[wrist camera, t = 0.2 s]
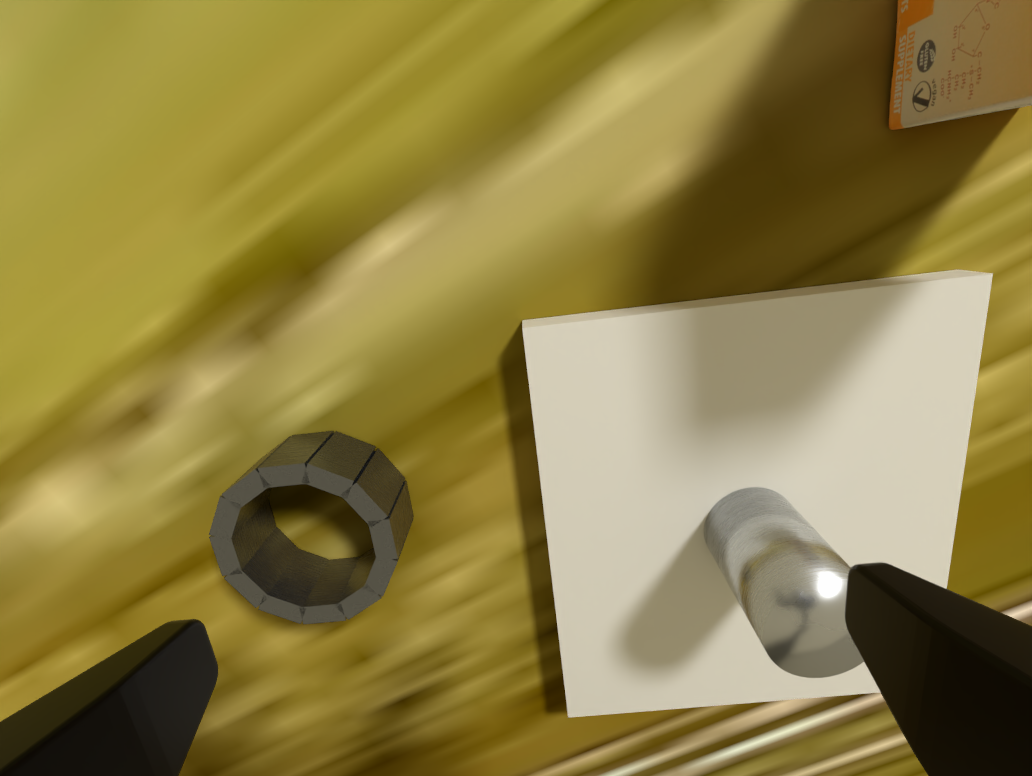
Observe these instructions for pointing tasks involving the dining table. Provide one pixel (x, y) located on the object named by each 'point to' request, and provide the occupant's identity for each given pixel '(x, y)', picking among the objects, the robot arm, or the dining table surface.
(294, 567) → the gunmetal ring
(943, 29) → the supplement box
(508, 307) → the dining table surface
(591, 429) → the base plate
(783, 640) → the steel pin
